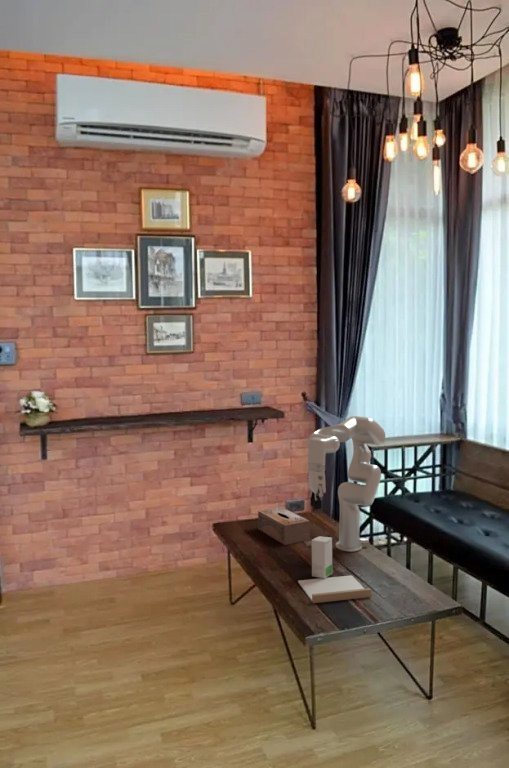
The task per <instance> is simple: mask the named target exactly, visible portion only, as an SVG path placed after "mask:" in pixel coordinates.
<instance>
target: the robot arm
mask: <svg viewBox="0 0 509 768" xmlns="http://www.w3.org/2000/svg"><path fill="white" fill-rule="evenodd" d="M350 439H351V441H352V445H353V455H352V458H351V460H350V464H349V466H348V470H347V477H348V479H349V480H350V481H345V482H342V483H340V485H339V486H338V490H337V495H338V503H339V531H338V533H339V536H338V541H337V542H336V543H335V548H337V549H338V550H340V551H343V552H350V553H351V552H359V551H361V550H362V549H363V544H368V543H369V542H370V541H369V538H364V537H360V526H361V525H360V524H361V523H360V519H361V518H360V517H361V512H360V508H359V506H363V507H369V506H372V505H373V503H374V501H375V498H376V495H377V492H378V488H379V486H380V483H381V479H382V478H381V477H382V471H381V468H380V467H379V466H378V465H376V464H372V463H370V462H371V459H372V453H371V451H370V448H369V446H368V445H371V446H372V445H374V446H380V445H383V443H385V440H386V432H385V430H384V428H383V427H382V426H381V425H380V424H379V423H378V422H377V421H376V420H375V419H373V418H371V417H367V416H365V417H364V416H357V415H353V416H349V417H348V418H346V419H344V420H343V421H341V422H340V423H339V424H335V425H331V426H325V427H321V428H319V429H317V430H315V431H314V432H312V433H311V434H310V435H309V436H308V439H307V447H308V448H307V470H308V479H307V480H308V486H307V487H308V489H309V491H310V496H309V497H310V507H313V509H314V510H321V509H322V500H323V496H324V494H326V492H327V491H326V489H327V488H326V485H327V484H326V473H325V471H326V454H332V453H333V454H334V453H336V452H337V451H338V450H339V449H340V446H341V443H344V442H348V441H349V440H350ZM351 481H353V482H351ZM356 482H357V483H356ZM361 483H362V484H361Z"/></svg>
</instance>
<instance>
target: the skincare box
mask: <svg viewBox="0 0 509 768" xmlns="http://www.w3.org/2000/svg"><path fill="white" fill-rule="evenodd" d="M331 575H333V537H331V536H330V537H328V536H320V535H318V536H317V537H314V538H313V539H311V577H315V578H317V579H320V578H324V579H325V578H329V577H330V576H331Z"/></svg>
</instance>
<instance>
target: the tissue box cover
mask: <svg viewBox="0 0 509 768" xmlns="http://www.w3.org/2000/svg"><path fill="white" fill-rule="evenodd" d="M257 513H258V514H257V516H258V517H257V519H258V520H257V522H258V523H257V529H258V530H259V531H260V530H261V531H260V532H262V531H263V532H262V533H264V534H265V533H266V535H268V536H269V537H270V538H273V539H274V540H275V541H277V542H279V543H281V544H282V545H284V546H286V545H292V544H295V543H296V544H297V543H301V542H305V541H310V520H308V519H307V518H305V517H302V516H301V515H299V514H296V513H294V512H292V511H291V510H288V509H287V508H284V507H283V506H279V507H273V508H268V509H262V510H258V511H257Z"/></svg>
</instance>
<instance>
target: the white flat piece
mask: <svg viewBox="0 0 509 768" xmlns="http://www.w3.org/2000/svg"><path fill="white" fill-rule="evenodd" d="M297 583H298V584H299V586H300V587H301V588H302V590H303V591H304V592H305V595H307V596H308V598H309V599H310V601H311V603H313V604H317V603H327V602H328V603H329V602H336V601H346V600H354V599H355V600H356V599H363V598H371V597H372V588H370V587H368V588H364V587H363V586H362V584H361V583H360V582H359V581H358V580H357V579H356V578H355V577H354V576H353V575H343V576H342V575H341V576H332V577H330V576H329V577H326V578H325V579H324V578H312V579H311V578H310V579H303V580H302V579H300V580H297Z"/></svg>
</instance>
